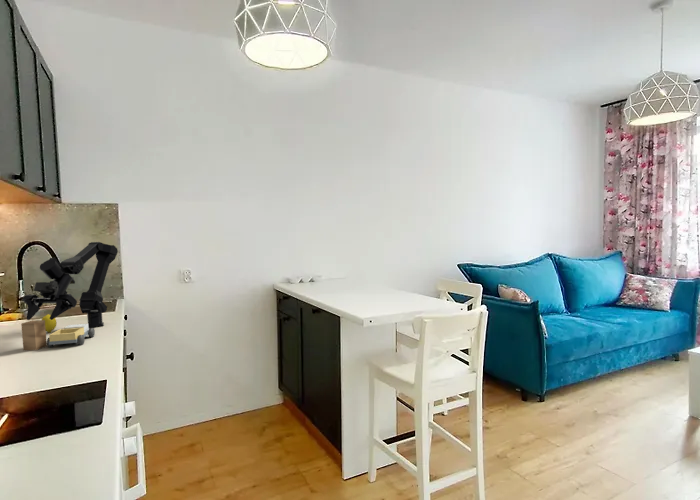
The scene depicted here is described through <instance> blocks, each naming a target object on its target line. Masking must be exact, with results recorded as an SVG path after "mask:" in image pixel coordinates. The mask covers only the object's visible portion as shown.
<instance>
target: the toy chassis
mask: <svg viewBox="0 0 700 500" xmlns="http://www.w3.org/2000/svg"><path fill="white" fill-rule="evenodd" d="M95 333H96V332H95V327H90V328H89V326H88V323H80V324H68V325H66V326H65V327H64V328H61V329H58V330H56V331H54V332H52V333H50V334H49V335H48V336H49V337H48V338H46V342H47V346H46V347H48V348H53V347H54V346H55V345H63V344H77V345H80V346H81V345H84V344H85V341H86V340H85V337H87V336H88V338H94V337H95V335H96V334H95Z"/></svg>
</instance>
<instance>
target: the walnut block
mask: <svg viewBox="0 0 700 500" xmlns="http://www.w3.org/2000/svg"><path fill="white" fill-rule="evenodd" d="M46 332H47V331H46V329H45V320H42V319H40V320H39V319H37V320H35V319H33V320H28V321H26V322H23V323H21V336H22V349H23V351H38V350H41V349H43V348H45V347H48V346H47V333H46Z"/></svg>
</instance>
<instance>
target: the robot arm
mask: <svg viewBox="0 0 700 500" xmlns="http://www.w3.org/2000/svg"><path fill="white" fill-rule="evenodd" d="M118 252H119V251H118V247H116V245H114V244H106V243H103V242H100V241H91V242H89V243H88V244H87V245H86V246H85V247H84V248H83V249H82V250H80V251H79V252H78V253H77V254H75V255H74V256H72V257H69V258H67V259H64V260H62V261H60V262H59V261H58V259H57V258H56V257H50V258H48V259H47V260H46V261H44V262H43V263H41V264H40V265H39V270H40V271H41V272H42V273H43V274H44V275H45V276H46V277H47V278H48V279H49V280H50V281H49V282H47V281H37V282H35V284H34V287H33V291H34V292H38V293H39V295H40V296H41V297H39V296H38V295H37V294H24V296H23V297H22V301H23V302H24V303H25V304H26V305H27V312H26V320H27V321H31V319H32V318H33V317H34V316H35V315H36V314H37V313H39V311H40V310H41V307H43V304H55V306H54V308H53V310H52V312H51V314H50V315H51V316H50V319H51V320H53V319H54V318H55V319H56V318H57V317H59V316H60V315H61V314H64V313H65V312H66V311H68V310H71V309H72V308H75V307H76V306H77V304H78V301H79V308H80V310H81V314H86V315H87V318H86V319H87V324H88V326H89V328H97V327H104V326H105V324H104V322H103V313H106V312H107V310H108V305H106V303H104V301H103V300H104V297H103V295H102V289H103V287H104V283H105V279H106V277H107V273H108V270H109V267H110V264H111V263H112V262H113V261H115V259H116V257H117V255H118ZM94 256H95V258H96V261H97V262H96V265H95V269H94V272H93V276H92V278H91V280H90V281H91V282H90V284H89V286H88V290H87V291H82V292H81V296H80V299H79V300H77V299H76V298H75V297H74V296H73V295H72V294H71V293H68V291H67V290H68V288H69V285H75V284H76V281H75V279H74V276H75V275H79V274H80V273H81V272H82V271H83V269H84V268H85V267H84V265H85V263H87V262H88V261H89V260H90V259H92V258H93V257H94ZM71 275H74V276H71Z"/></svg>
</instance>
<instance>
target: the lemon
mask: <svg viewBox="0 0 700 500" xmlns="http://www.w3.org/2000/svg"><path fill="white" fill-rule="evenodd" d="M50 316H51V314H49V313H48V314H47V313H46V315H44V316H43V317H41V320H45V329H46V332H47V333H50V334H51V332H53V331H54V330H55V329H56V327H57V319H56V318H54V319H53V320H51V319H50Z"/></svg>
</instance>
